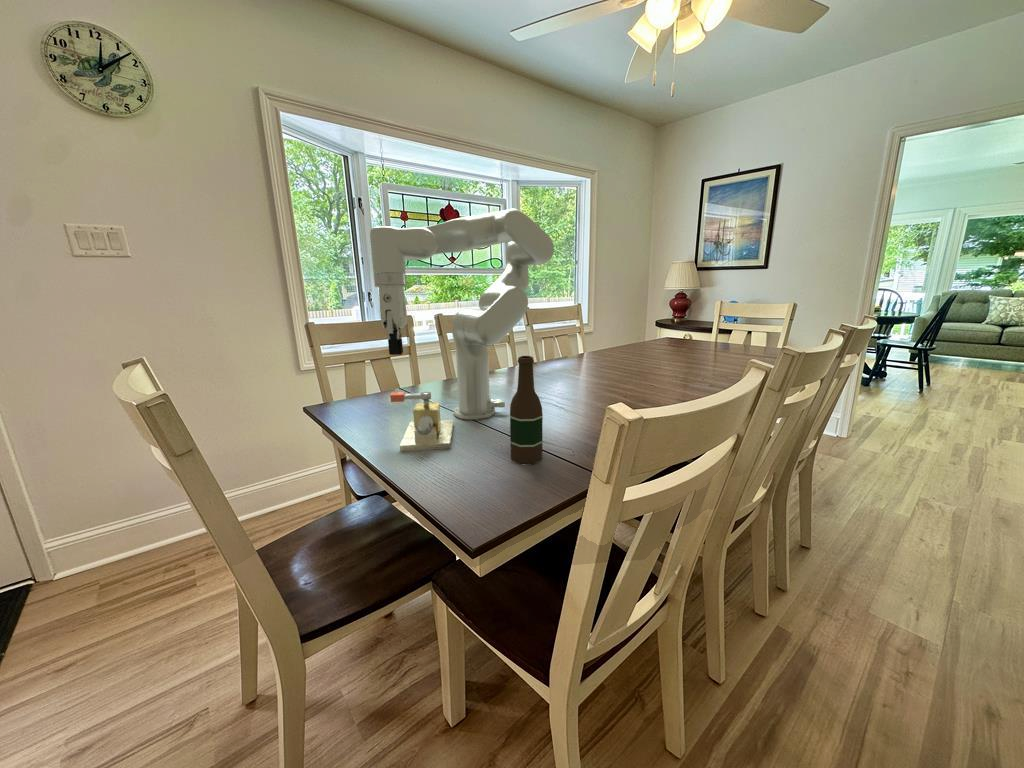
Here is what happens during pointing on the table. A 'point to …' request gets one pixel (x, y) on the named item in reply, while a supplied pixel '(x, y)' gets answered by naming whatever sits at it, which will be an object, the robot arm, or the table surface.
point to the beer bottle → (526, 417)
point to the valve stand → (427, 429)
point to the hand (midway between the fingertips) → (396, 354)
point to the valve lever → (409, 396)
